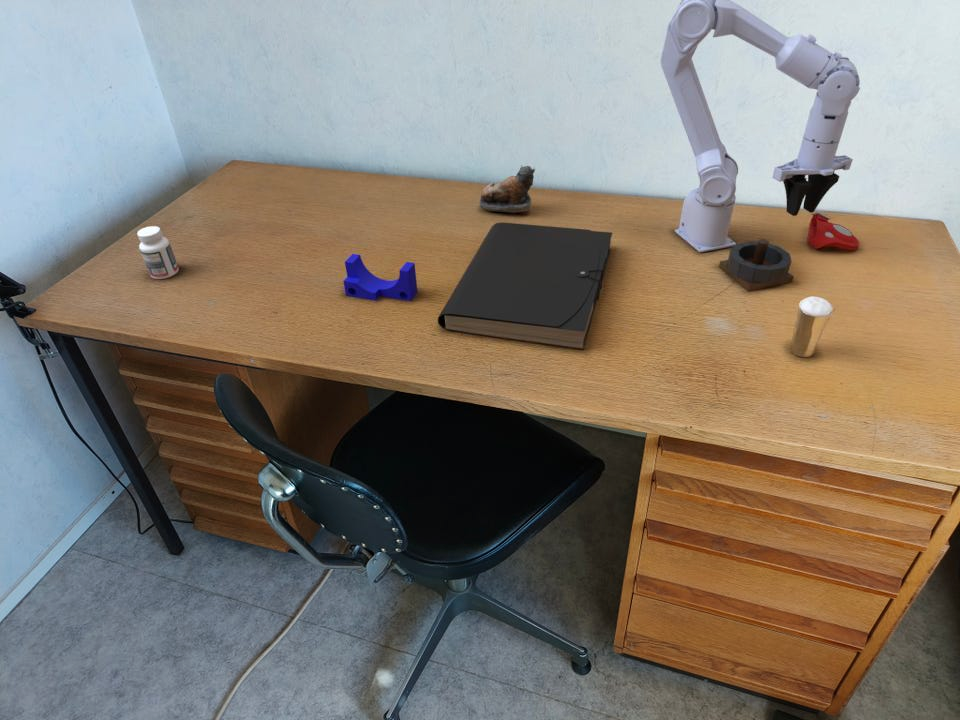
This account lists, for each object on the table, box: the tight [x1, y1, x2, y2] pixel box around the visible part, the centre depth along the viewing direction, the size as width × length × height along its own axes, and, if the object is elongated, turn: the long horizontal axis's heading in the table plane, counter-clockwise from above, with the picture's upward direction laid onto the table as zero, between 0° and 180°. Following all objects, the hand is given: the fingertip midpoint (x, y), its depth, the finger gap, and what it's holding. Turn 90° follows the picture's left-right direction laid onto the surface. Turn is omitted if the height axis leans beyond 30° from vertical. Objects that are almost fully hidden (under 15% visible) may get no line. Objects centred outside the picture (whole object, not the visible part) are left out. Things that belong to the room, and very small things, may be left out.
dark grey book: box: [437, 221, 613, 351], centre depth 117 cm, size 33×4×24 cm
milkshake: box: [789, 295, 839, 358], centre depth 98 cm, size 5×5×10 cm
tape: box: [727, 240, 793, 284], centre depth 117 cm, size 10×10×3 cm
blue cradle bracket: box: [342, 253, 419, 302], centre depth 116 cm, size 12×4×6 cm, turn 71°
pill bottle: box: [136, 225, 180, 280], centre depth 123 cm, size 5×5×9 cm
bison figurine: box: [478, 165, 536, 213], centre depth 139 cm, size 12×7×10 cm, turn 74°
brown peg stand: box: [718, 238, 794, 292], centre depth 117 cm, size 9×9×7 cm
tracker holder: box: [806, 210, 860, 251], centre depth 127 cm, size 12×4×10 cm
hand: (799, 212), depth 120 cm, fingers open, 3 cm apart
